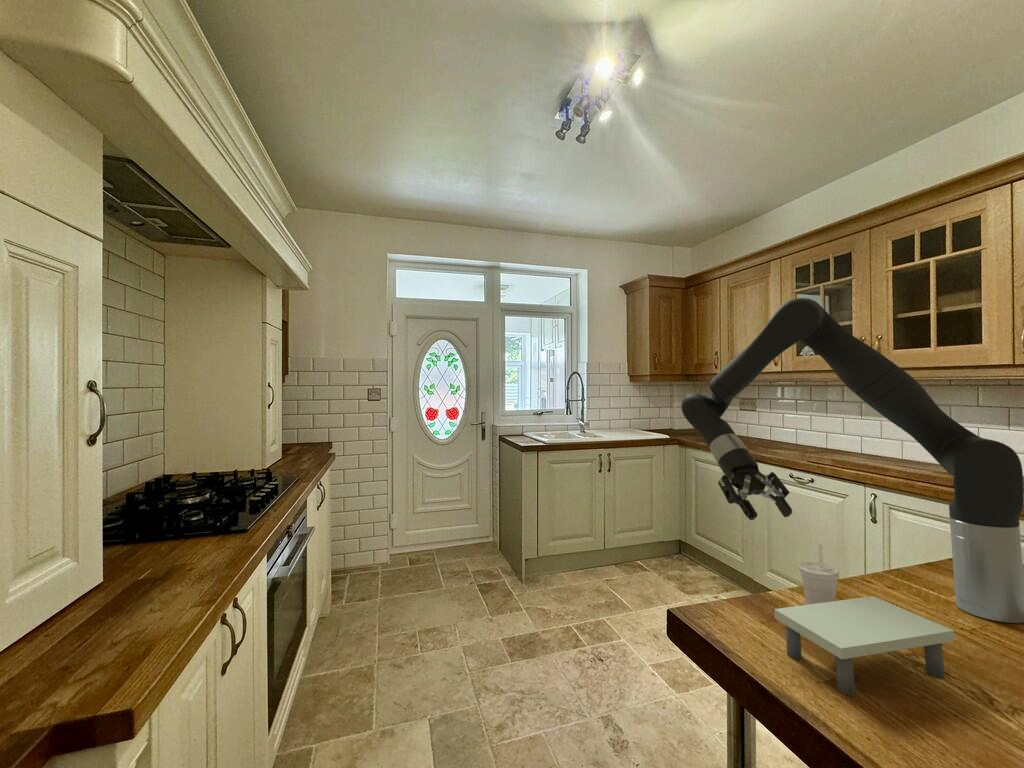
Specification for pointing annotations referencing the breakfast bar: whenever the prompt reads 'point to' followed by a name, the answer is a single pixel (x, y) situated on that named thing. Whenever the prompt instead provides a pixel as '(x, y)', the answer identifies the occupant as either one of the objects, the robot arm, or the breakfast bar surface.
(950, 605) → the breakfast bar surface
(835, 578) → the smoothie
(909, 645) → the small table
